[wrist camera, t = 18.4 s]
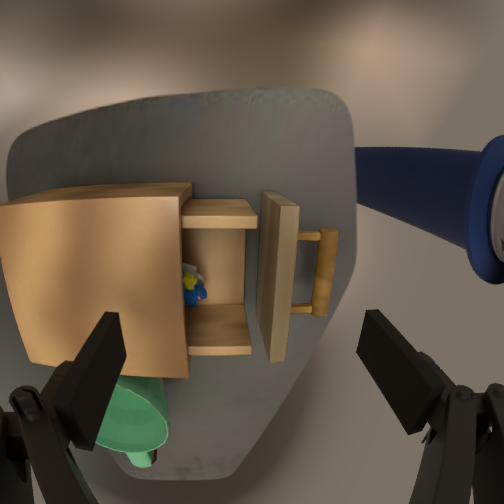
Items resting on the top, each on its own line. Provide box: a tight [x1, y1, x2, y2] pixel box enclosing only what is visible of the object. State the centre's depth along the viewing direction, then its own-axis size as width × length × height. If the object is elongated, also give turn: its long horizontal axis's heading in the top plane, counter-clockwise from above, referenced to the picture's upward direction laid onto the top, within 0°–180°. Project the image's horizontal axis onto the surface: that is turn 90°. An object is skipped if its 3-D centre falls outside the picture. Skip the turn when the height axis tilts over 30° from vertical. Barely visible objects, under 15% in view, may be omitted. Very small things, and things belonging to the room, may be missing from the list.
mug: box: [95, 375, 170, 467], centre depth 26 cm, size 15×10×10 cm
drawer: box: [181, 191, 339, 363], centre depth 23 cm, size 17×11×8 cm
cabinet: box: [0, 182, 193, 378], centre depth 22 cm, size 14×13×10 cm
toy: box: [182, 262, 207, 307], centre depth 24 cm, size 5×4×5 cm
